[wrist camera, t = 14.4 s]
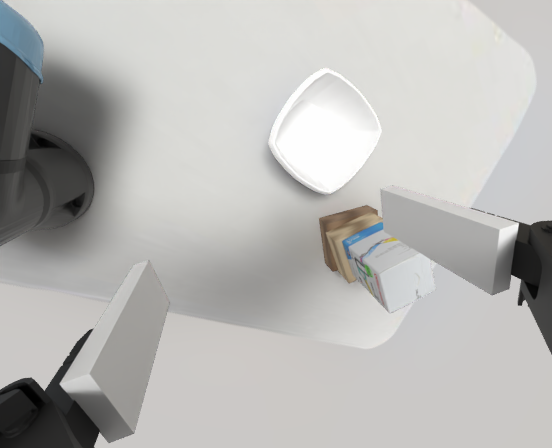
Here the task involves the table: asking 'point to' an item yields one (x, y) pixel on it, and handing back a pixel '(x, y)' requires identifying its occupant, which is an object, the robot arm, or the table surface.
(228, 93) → the table surface
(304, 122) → the bowl
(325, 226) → the tower base
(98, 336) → the robot arm
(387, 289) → the ink box
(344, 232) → the tower top
